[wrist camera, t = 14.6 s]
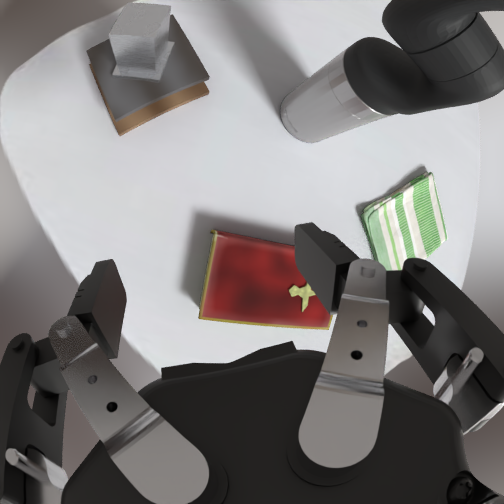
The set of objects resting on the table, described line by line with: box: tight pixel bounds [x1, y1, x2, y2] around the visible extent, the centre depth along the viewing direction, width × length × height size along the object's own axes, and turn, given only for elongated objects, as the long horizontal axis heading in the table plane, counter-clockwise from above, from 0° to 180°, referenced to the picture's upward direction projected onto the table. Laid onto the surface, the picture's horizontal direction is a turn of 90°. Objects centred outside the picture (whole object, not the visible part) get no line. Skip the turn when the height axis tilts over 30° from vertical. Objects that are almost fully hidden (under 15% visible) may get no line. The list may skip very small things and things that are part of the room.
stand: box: [87, 14, 209, 136], centre depth 29 cm, size 14×14×6 cm
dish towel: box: [360, 172, 448, 270], centre depth 49 cm, size 18×23×3 cm
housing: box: [108, 3, 175, 83], centre depth 22 cm, size 6×7×9 cm
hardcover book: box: [198, 230, 333, 330], centre depth 41 cm, size 12×21×4 cm, turn 77°
